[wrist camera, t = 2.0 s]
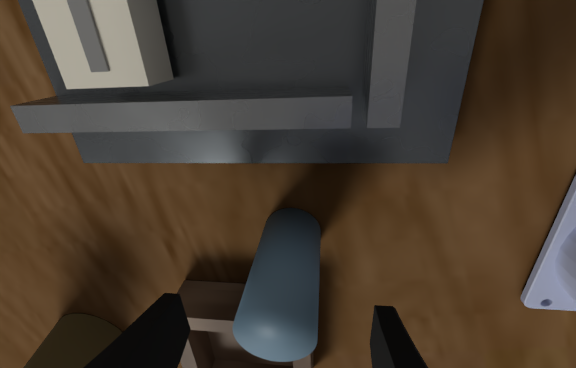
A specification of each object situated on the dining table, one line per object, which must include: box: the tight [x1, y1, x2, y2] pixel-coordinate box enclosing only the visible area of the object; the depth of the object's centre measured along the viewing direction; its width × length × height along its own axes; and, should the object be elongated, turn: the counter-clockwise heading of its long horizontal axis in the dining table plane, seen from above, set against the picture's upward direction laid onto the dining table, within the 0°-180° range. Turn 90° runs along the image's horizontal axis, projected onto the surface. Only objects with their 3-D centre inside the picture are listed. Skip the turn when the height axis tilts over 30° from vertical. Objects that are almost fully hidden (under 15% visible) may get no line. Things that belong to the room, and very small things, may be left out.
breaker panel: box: [10, 0, 484, 163], centre depth 10 cm, size 16×10×3 cm, turn 93°
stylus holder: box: [177, 280, 313, 368], centre depth 18 cm, size 8×8×3 cm
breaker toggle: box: [32, 0, 174, 89], centre depth 9 cm, size 3×3×2 cm
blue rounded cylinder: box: [232, 208, 321, 362], centre depth 13 cm, size 3×3×6 cm
